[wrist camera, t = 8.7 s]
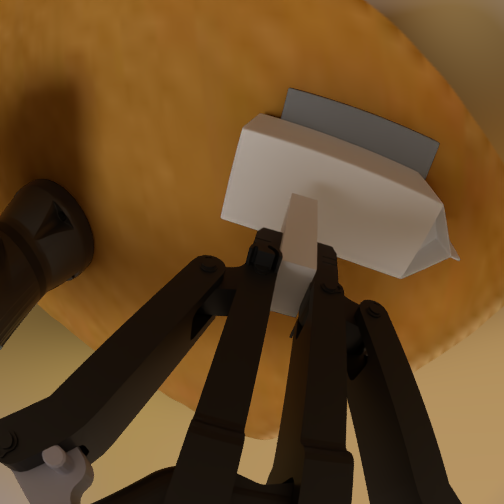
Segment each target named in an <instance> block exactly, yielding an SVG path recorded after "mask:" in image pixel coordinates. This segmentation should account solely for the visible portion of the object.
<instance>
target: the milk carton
mask: <svg viewBox="0 0 504 504" xmlns="http://www.w3.org/2000/svg"><path fill="white" fill-rule="evenodd" d="M292 193H295V194H298V195H301V196H305V197H308V198H311V199H315V200H318V230H317V242H319V243H322V244H325V245H329V246H332V247H333V249H334V250H335V252H336V253H337V257H339V258H342V259H344V260H347V261H350V262H353V263H356V264H359V265H362V266H365V267H368V268H370V269H373V270H376V271H379V272H382V273H385V274H388V275H391V276H394V277H397V278H400V279H402V278H405V277H407V276H409V275H412V274H414V273H416V272H419V271H421V270H423V269H425V268H428V267H430V266H432V265H434V264H437V263H439V262H441V261H443V260H445V259H447V258H450V257H451V258H453V259H455V260H458V261H460V258H459V256H458V254H457V252H456V251H455V249H454V247H453V245H452V244H451V242H450V240H449V236H448V229H447V222H446V216H445V210H444V205H443V203H442V202H441V200H440V199H439V198H438V196H437V195H436V194H435V192H434V191H433V190H432V189H431V187H430V186H429V185H428V184H427V182H426V181H425V180H424V179H423V177H422V176H421V175H420V174H419V173H418V172H417V171H415V170H413V169H410V168H408V167H406V166H404V165H402V164H399V163H397V162H395V161H393V160H390V159H388V158H386V157H383V156H381V155H379V154H376V153H374V152H372V151H369V150H367V149H364V148H362V147H359V146H357V145H354V144H352V143H349V142H346V141H344V140H341V139H338V138H336V137H333V136H330V135H327V134H325V133H322V132H319V131H316V130H313V129H310V128H307V127H304V126H301V125H298V124H295V123H292V122H289V121H286V120H282V119H279V118H276V117H272V116H269V115H266V114H262V113H260V114H259V115H257V116H256V117H255V118H254V119H252V120H251V121H250V122H249V123H247V124H246V125H245V126H244V127H243V128H242V132H241V135H240V139H239V143H238V147H237V150H236V154H235V158H234V162H233V166H232V170H231V174H230V178H229V182H228V187H227V191H226V195H225V200H224V204H223V209H222V213H221V219H224V220H227V221H230V222H233V223H237V224H240V225H243V226H246V227H249V228H252V229H255V230H258V231H259V230H260V229H261V228H263V227H265V228H268V229H271V230H275V231H278V232H280V230H281V227H282V224H283V221H284V217H285V214H286V211H287V208H288V204H289V201H290V198H291V194H292Z"/></svg>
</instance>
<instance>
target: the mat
mask: <svg viewBox="0 0 504 504" xmlns="http://www.w3.org/2000/svg"><path fill="white" fill-rule="evenodd" d="M281 119H282V120H286V121H289V122H292V123H295V124H298V125H301V126H304V127H307V128H310V129H313V130H316V131H319V132H322V133H325V134H327V135H330V136H333V137H336V138H338V139H341V140H344V141H346V142H349V143H352V144H354V145H357V146H359V147H362V148H364V149H367V150H369V151H372V152H374V153H376V154H379V155H381V156H383V157H386V158H388V159H390V160H393V161H395V162H397V163H399V164H402V165H404V166H406V167H408V168H410V169H413V170H415V171H417V172H418V173H419V174H420V175H421V176H422V177H423V179H424V180H425V178H426V176H427V174H428V171H429V169H430V167H431V164H432V162H433V159H434V157H435V154H436V152H437V149H438V147H439V144H440V143H439V142H437V141H435V140H433V139H431V138H429V137H427V136H425V135H422V134H420V133H418V132H416V131H413V130H411V129H409V128H406V127H404V126H402V125H399V124H397V123H395V122H392V121H390V120H387V119H385V118H382V117H379V116H377V115H374V114H372V113H369V112H366V111H363V110H361V109H358V108H355V107H352V106H349V105H346V104H343V103H340V102H337V101H334V100H331V99H328V98H325V97H321V96H318V95H315V94H311V93H308V92H304V91H300V90H297V89H293V88H289V89H288V93H287V97H286V101H285V105H284V109H283V113H282V116H281Z"/></svg>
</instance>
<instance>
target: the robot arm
mask: <svg viewBox="0 0 504 504" xmlns="http://www.w3.org/2000/svg"><path fill="white" fill-rule="evenodd" d="M317 230H318V200H315V199H311V198H308V197H305V196H301V195H298V194H295V193H292V194H291V198H290V201H289V204H288V208H287V211H286V214H285V217H284V221H283V224H282V227H281V230H280V232H278V231H275V230H271V229H268V228H265V227H263V228H261V229H260V230H259V231H257V234H256V237H255V240H254V243H253V244H252V245H251V246H250V248H249V252H248V256H247V260H246V263H245V264H244V265H242V266H240V267H225V264H224V263H223V262H222V261H221V260H220V259H218V258H217V257H214V256H209V255H203V256H198V257H197V258H195V259H194V260H192V261H191V262H190V263H189V264H188V265H187V266H186V267H185V268H184V269H182V270H181V271H180V272H179V273H178V274H177V275H176V276H175V277H174V278H173V279H172V280H170V281H169V282H168V283H167V284H166V285H165V286H164V287H163V288H162V289H161V290H160V291H158V292H157V293H156V294H155V295H154V296H153V297H152V298H151V299H150V300H149V301H148V302H147V303H146V304H144V305H143V306H142V307H141V308H140V309H139V310H138V311H137V312H136V313H135V314H134V315H133V316H132V317H131V318H130V319H128V320H127V321H126V322H125V323H124V324H123V325H122V326H121V327H120V328H119V329H118V330H117V331H116V332H115V333H114V334H113V335H112V336H111V337H110V338H109V339H107V340H106V341H105V342H104V343H103V344H102V345H101V346H100V347H99V348H98V349H97V350H96V351H95V352H94V353H93V354H92V355H91V356H90V357H89V358H88V359H87V360H86V361H85V362H84V363H83V364H82V365H81V366H80V367H79V368H78V369H77V370H76V371H75V372H74V373H73V374H72V375H71V376H70V377H69V378H68V379H67V380H66V381H65V382H64V383H63V384H62V385H61V386H60V387H59V388H58V389H57V390H56V391H55V392H54V393H53V394H52V395H51V396H49V397H47V398H45V399H43V400H41V401H39V402H36V403H34V404H32V405H30V406H28V407H26V408H23V409H21V410H19V411H17V412H15V413H12V414H10V415H8V416H6V417H4V418H1V419H0V462H1V463H3V464H4V465H5V466H7V467H8V468H10V469H11V470H12V471H13V473H14V475H15V477H16V479H17V481H18V483H19V484H20V486H21V488H22V490H23V492H24V494H25V496H26V497H27V499H28V501H29V502H30V504H80V500H81V497H82V494H83V493H84V492H85V491H86V490H87V489H88V487H90V486H91V484H92V482H93V478H94V472H93V468H92V466H91V464H92V463H93V462H94V461H96V460H97V459H98V458H99V457H101V456H102V455H103V454H104V453H105V452H106V451H107V450H108V449H109V448H110V447H111V446H112V444H113V443H114V442H115V441H116V440H117V438H118V437H119V436H120V435H121V434H122V432H123V431H124V430H125V429H126V427H127V426H128V425H129V424H130V423H131V421H132V420H133V419H134V418H135V417H136V415H137V414H138V413H139V412H140V410H141V409H142V408H143V407H144V406H145V404H146V403H147V402H148V401H149V399H150V398H151V397H152V396H153V395H154V393H155V392H156V391H157V390H158V388H159V387H160V386H161V385H162V383H163V382H164V381H165V380H166V378H167V377H168V376H169V375H170V374H171V372H172V371H173V370H174V369H175V367H176V366H177V365H178V364H179V362H180V361H181V360H182V359H183V357H184V356H185V355H186V354H187V352H188V351H189V350H190V349H191V347H192V346H193V345H194V344H195V342H196V341H197V340H198V339H199V337H200V336H201V335H202V334H203V332H204V331H205V330H206V329H207V327H208V326H209V325H210V324H211V322H212V321H213V320H214V319H215V316H228V317H227V320H226V323H225V326H224V329H223V332H222V335H221V337H220V340H219V343H218V346H217V349H216V352H215V355H214V358H213V361H212V364H211V367H210V370H209V373H208V376H207V379H206V382H205V385H204V388H203V391H202V394H201V397H200V400H199V403H198V406H197V409H196V412H195V415H194V417H193V419H192V420H191V423H190V426H189V428H188V431H187V434H186V437H185V440H184V443H183V446H182V449H181V452H180V455H179V458H178V460H177V463H176V466H173V467H168V468H164V469H161V470H158V471H155V472H153V473H151V474H149V475H148V476H146V477H144V478H142V479H140V480H138V481H136V482H135V483H133V484H131V485H129V486H127V487H125V488H123V489H121V490H119V491H117V492H115V493H113V494H111V495H109V496H107V497H105V498H103V499H101V500H98V501H96V502H94V503H92V504H351V501H352V487H353V470H354V459H353V456H352V454H351V453H350V452H349V451H347V450H346V419H347V417H346V416H347V400H348V404H349V408H350V412H351V416H352V420H353V425H354V429H355V434H356V438H357V443H358V447H359V452H360V456H361V461H362V466H363V471H364V476H365V481H366V486H367V490H368V496H369V501H370V504H462V503H461V502H460V500H459V499H458V497H457V495H456V494H455V492H454V491H453V489H452V488H451V486H450V484H449V482H448V478H447V475H446V471H445V467H444V464H443V460H442V457H441V454H440V450H439V447H438V444H437V441H436V438H435V434H434V431H433V428H432V425H431V422H430V419H429V416H428V414H427V411H426V408H425V405H424V402H423V399H422V397H421V394H420V391H419V389H418V386H417V384H416V381H415V378H414V375H413V373H412V370H411V368H410V365H409V363H408V360H407V358H406V355H405V353H404V350H403V348H402V346H401V343H400V341H399V338H398V336H397V334H396V331H395V329H394V327H393V324H392V322H391V320H390V318H389V315H388V313H387V311H386V310H385V308H384V307H383V306H382V305H380V304H379V303H377V302H375V301H372V300H364V301H362V302H361V303H360V305H359V304H357V303H355V302H353V301H351V300H349V299H348V298H347V297H345V296H344V290H343V288H342V286H341V285H340V284H339V283H338V268H337V253H336V252H335V250H334V249H333V247H332V246H329V245H325V244H322V243H319V242H317ZM93 251H94V244H93V237H92V232H91V229H90V226H89V223H88V221H87V219H86V217H85V215H84V213H83V211H82V209H81V208H80V206H79V205H78V203H77V202H76V201H75V199H74V198H73V197H72V196H71V195H70V194H69V193H68V192H67V191H66V190H65V189H64V188H62V187H61V186H60V185H58V184H56V183H54V182H52V181H50V180H46V179H37V180H34V181H32V182H30V183H28V184H27V185H25V186H24V187H22V188H21V189H20V190H19V191H18V192H17V193H16V195H15V196H14V198H13V199H12V201H11V202H10V203H9V204H8V206H7V207H6V208H5V210H4V211H3V213H2V214H1V216H0V350H1V349H2V347H3V345H4V344H5V342H6V341H7V340H8V339H9V337H10V336H11V335H12V333H13V332H14V331H15V330H16V328H17V327H18V326H19V325H20V323H21V322H22V321H23V320H24V318H25V317H26V316H27V315H28V313H29V312H30V311H31V310H32V308H33V307H34V306H35V305H36V304H37V303H38V301H39V300H40V299H41V298H42V297H43V296H44V295H45V294H46V292H48V291H50V290H52V289H54V288H56V287H58V286H59V285H61V284H63V283H64V282H65V281H69V280H72V279H74V278H76V277H77V276H79V275H80V274H81V273H82V272H83V271H84V270H85V268H86V267H87V266H88V265H89V264H90V262H91V260H92V257H93ZM270 311H274V312H277V313H281V314H284V315H288V316H292V317H296V316H297V314H298V311H299V317H298V319H297V322H296V324H295V326H294V328H293V330H292V332H291V334H290V338H292V336H293V342H292V350H291V357H290V364H289V372H288V379H287V385H286V392H285V399H284V405H283V412H282V418H281V424H280V430H279V436H278V442H277V448H276V453H275V459H274V464H273V468H272V470H271V472H270V475H269V477H268V480H267V483H266V485H262V484H259V483H256V482H254V481H252V480H250V479H248V478H245V477H243V476H241V475H239V474H237V470H238V466H239V462H240V457H241V453H242V449H243V444H244V439H245V433H244V429H245V424H246V420H247V416H248V411H249V407H250V402H251V398H252V393H253V389H254V384H255V380H256V375H257V370H258V366H259V361H260V356H261V352H262V347H263V342H264V337H265V333H266V328H267V323H268V318H269V313H270Z"/></svg>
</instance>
